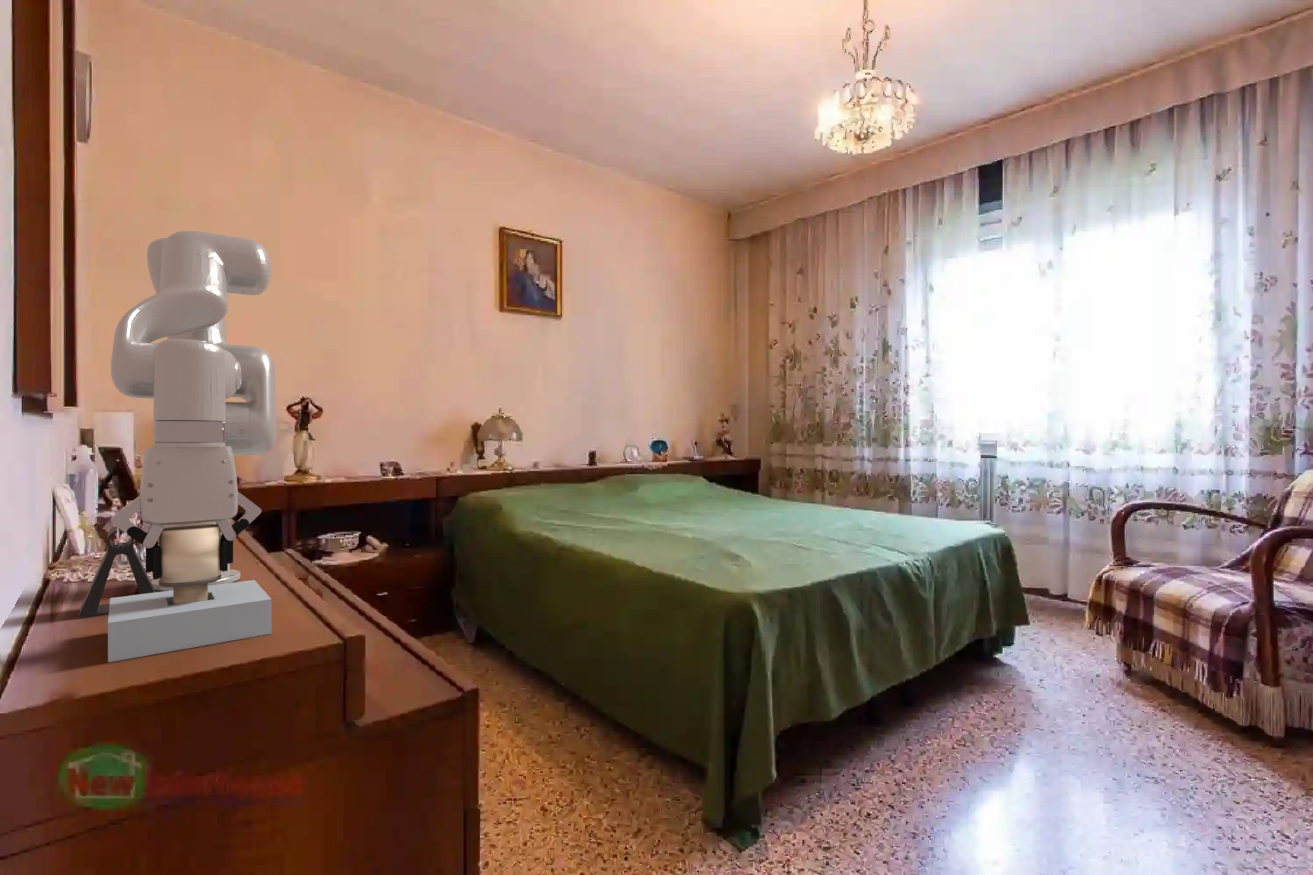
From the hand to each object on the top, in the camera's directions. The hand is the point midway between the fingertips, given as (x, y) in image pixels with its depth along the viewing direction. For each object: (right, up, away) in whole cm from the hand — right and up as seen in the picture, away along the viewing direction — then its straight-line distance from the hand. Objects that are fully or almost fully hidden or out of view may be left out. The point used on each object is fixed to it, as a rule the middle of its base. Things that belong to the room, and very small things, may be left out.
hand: (190, 572), depth 81 cm
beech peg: (0, -5, 0) cm, 5 cm away
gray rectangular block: (0, -8, 0) cm, 8 cm away
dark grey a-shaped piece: (-19, -8, +12) cm, 24 cm away
